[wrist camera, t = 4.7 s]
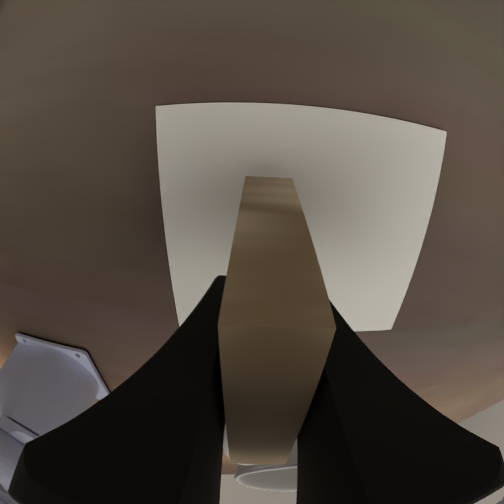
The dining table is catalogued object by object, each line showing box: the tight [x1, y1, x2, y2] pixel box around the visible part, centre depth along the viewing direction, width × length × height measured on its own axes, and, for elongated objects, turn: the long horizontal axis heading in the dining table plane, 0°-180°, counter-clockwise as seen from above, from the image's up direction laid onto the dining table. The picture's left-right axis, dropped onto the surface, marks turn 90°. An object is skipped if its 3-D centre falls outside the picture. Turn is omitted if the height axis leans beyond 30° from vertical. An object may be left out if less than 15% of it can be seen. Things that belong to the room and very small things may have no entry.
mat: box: [156, 102, 447, 331], centre depth 15 cm, size 14×13×1 cm
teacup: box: [223, 422, 297, 492], centre depth 19 cm, size 14×11×8 cm
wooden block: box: [218, 176, 336, 465], centre depth 8 cm, size 2×6×7 cm, turn 179°
